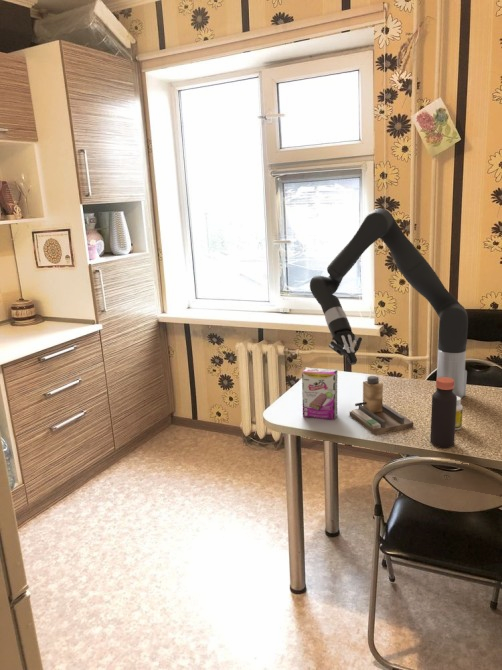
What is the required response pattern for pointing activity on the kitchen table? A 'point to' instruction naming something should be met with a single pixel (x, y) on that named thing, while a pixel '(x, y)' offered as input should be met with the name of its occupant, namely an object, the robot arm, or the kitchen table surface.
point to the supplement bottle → (458, 414)
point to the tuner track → (380, 419)
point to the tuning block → (372, 394)
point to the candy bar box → (319, 393)
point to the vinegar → (443, 414)
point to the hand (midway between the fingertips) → (353, 363)
